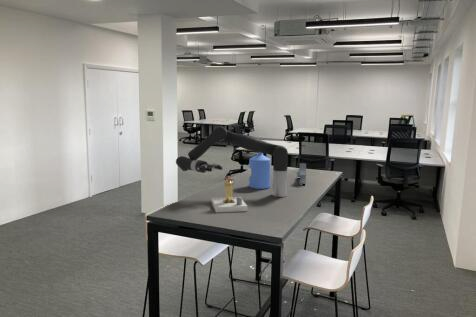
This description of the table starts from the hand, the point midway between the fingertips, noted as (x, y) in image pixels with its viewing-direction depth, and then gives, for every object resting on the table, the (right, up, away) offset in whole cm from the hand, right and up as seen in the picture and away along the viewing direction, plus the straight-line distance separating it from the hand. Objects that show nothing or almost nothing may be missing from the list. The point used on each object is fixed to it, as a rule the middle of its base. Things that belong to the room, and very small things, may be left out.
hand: (216, 168), depth 233 cm
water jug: (+29, -15, +51) cm, 60 cm away
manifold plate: (+7, -22, -4) cm, 24 cm away
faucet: (+63, -13, +72) cm, 96 cm away
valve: (+7, -22, -4) cm, 24 cm away
